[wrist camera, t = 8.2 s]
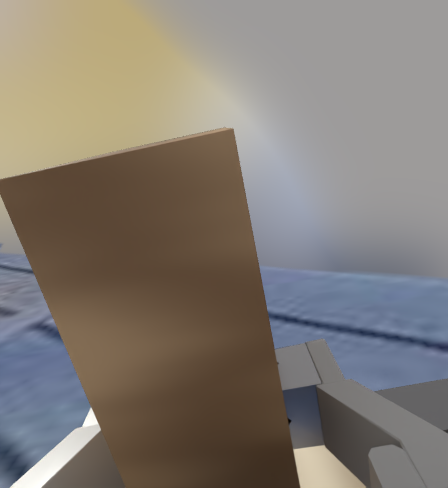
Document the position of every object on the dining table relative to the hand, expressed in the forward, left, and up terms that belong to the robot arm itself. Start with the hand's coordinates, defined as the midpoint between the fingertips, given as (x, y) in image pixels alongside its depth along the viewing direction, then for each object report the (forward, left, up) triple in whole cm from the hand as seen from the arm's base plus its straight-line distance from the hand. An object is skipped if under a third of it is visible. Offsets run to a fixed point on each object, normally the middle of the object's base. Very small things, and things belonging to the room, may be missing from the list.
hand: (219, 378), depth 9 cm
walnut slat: (-1, 0, -10) cm, 10 cm away
